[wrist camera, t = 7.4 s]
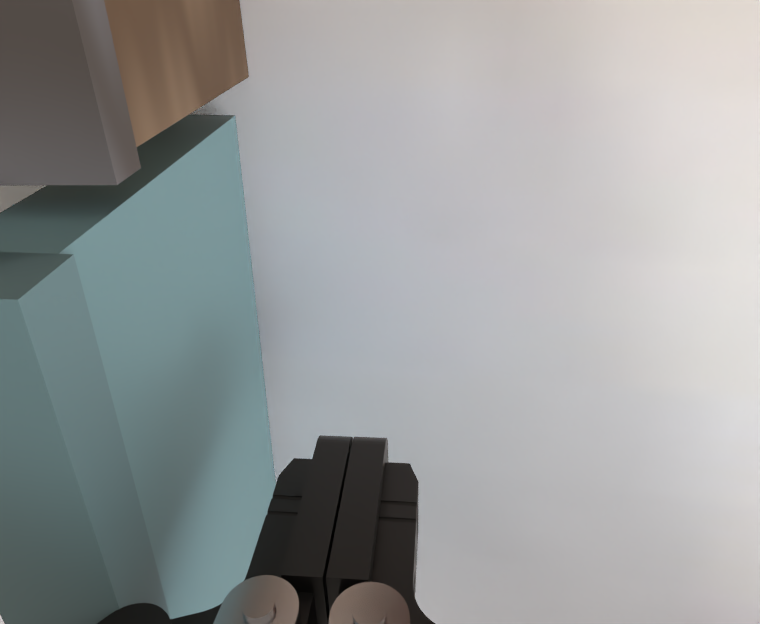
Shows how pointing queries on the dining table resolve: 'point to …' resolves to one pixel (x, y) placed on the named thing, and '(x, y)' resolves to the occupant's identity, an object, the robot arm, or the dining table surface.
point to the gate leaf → (132, 388)
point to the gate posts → (106, 81)
